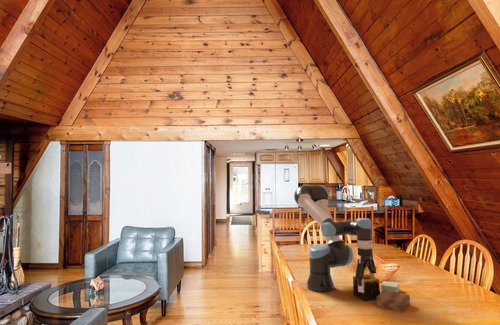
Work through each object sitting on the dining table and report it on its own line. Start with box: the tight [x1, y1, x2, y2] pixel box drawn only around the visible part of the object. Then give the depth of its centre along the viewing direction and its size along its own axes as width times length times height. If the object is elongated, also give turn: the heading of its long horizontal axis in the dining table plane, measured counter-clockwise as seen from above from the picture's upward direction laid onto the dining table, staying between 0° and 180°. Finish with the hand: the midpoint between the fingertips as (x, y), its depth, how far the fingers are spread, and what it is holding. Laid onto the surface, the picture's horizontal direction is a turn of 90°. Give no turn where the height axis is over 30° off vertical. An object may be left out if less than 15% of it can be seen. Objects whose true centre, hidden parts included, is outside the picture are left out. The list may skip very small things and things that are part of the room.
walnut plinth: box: [375, 290, 411, 314], centre depth 162 cm, size 12×12×5 cm
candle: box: [352, 274, 381, 302], centre depth 175 cm, size 10×10×10 cm
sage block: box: [380, 280, 400, 293], centre depth 183 cm, size 8×8×4 cm
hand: (366, 288), depth 175 cm, fingers open, 13 cm apart
